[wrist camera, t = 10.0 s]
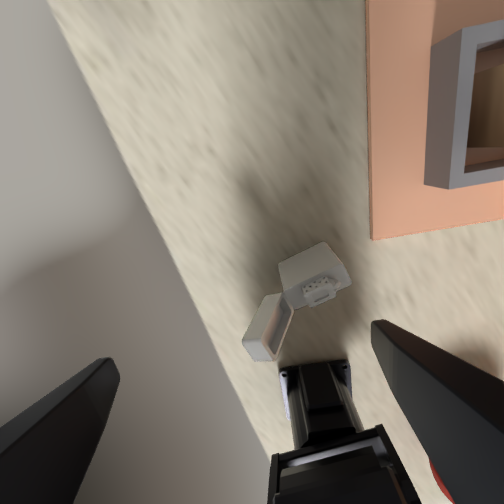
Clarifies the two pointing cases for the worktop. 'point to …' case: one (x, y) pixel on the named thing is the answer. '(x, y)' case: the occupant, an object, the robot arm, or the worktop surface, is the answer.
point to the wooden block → (487, 109)
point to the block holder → (429, 114)
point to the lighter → (294, 297)
